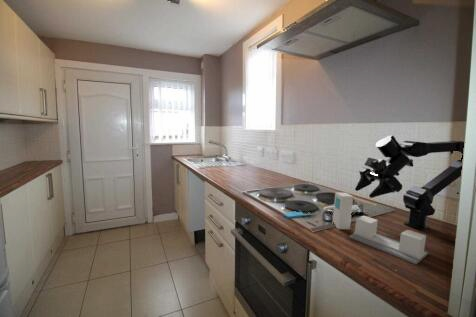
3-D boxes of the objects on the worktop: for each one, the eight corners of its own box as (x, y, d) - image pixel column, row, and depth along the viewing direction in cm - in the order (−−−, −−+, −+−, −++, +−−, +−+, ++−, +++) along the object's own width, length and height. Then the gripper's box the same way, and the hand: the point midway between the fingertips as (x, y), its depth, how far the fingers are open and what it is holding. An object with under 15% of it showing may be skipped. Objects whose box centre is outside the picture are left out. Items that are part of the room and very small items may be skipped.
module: (343, 223, 97) (346, 192, 95) (349, 229, 92) (353, 196, 90) (332, 223, 97) (335, 192, 95) (338, 229, 92) (341, 196, 90)
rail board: (363, 230, 91) (365, 213, 90) (427, 254, 75) (430, 234, 74) (349, 237, 85) (351, 219, 84) (416, 264, 69) (419, 242, 68)
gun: (351, 200, 117) (368, 207, 108) (350, 207, 118) (367, 214, 109) (320, 205, 111) (335, 213, 102) (319, 212, 112) (335, 221, 103)
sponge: (280, 212, 106) (287, 215, 101) (303, 209, 110) (311, 212, 105) (280, 215, 106) (287, 219, 101) (303, 213, 110) (311, 216, 105)
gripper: (365, 148, 100) (337, 173, 101) (398, 153, 82) (364, 185, 83) (381, 167, 102) (353, 192, 103) (417, 176, 84) (383, 207, 84)
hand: (362, 193), depth 93 cm, fingers open, 9 cm apart
